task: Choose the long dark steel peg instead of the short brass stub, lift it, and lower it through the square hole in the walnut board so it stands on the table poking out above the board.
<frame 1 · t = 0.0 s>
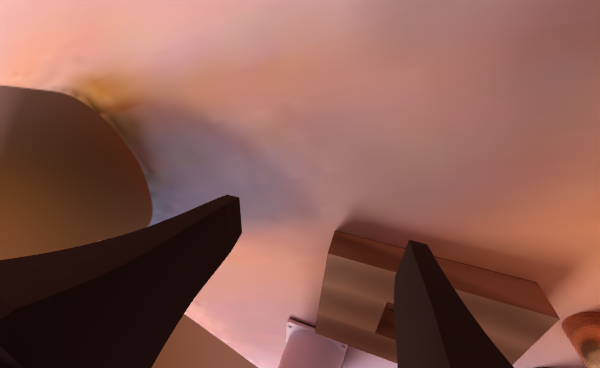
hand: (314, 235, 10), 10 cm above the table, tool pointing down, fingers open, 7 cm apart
walnut board: (406, 298, 24), on the table
short brass peg: (590, 326, 19), on the table
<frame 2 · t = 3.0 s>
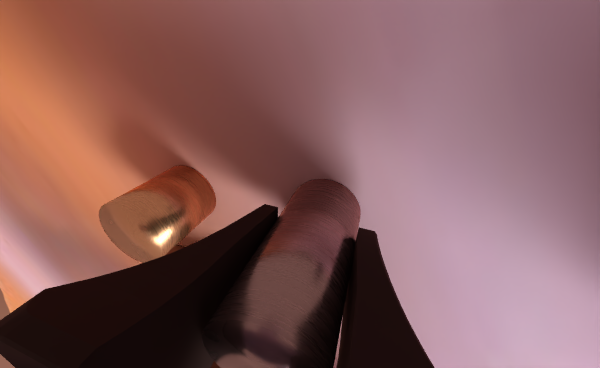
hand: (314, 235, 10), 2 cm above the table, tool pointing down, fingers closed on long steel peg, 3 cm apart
short brass peg: (190, 191, 14), on the table
long steel peg: (324, 210, 12), on the table, touching gripper
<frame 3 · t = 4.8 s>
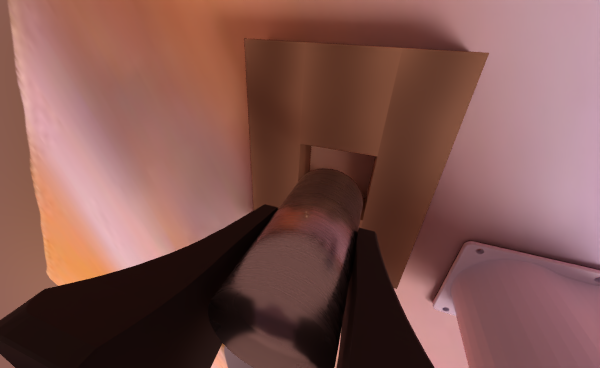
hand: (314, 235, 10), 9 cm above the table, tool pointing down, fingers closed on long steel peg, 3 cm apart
walnut board: (340, 165, 19), on the table
long steel peg: (327, 200, 12), point 7 cm above the table, touching gripper
when the fingers open (4 cm above the table, at t = 6.6 s): long steel peg drops 2 cm, resting in walnut board.
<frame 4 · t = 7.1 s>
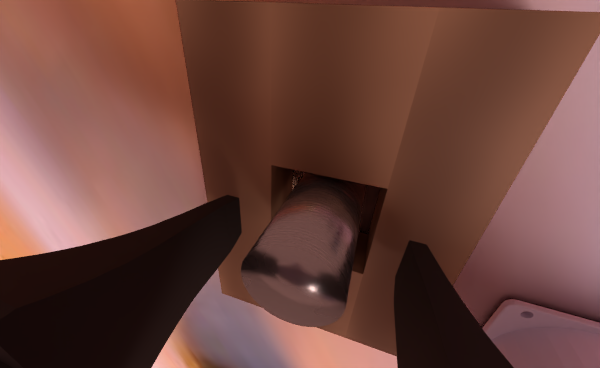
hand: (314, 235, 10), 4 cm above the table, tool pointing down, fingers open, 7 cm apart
walnut board: (332, 190, 13), on the table
long steel peg: (334, 185, 13), resting in walnut board
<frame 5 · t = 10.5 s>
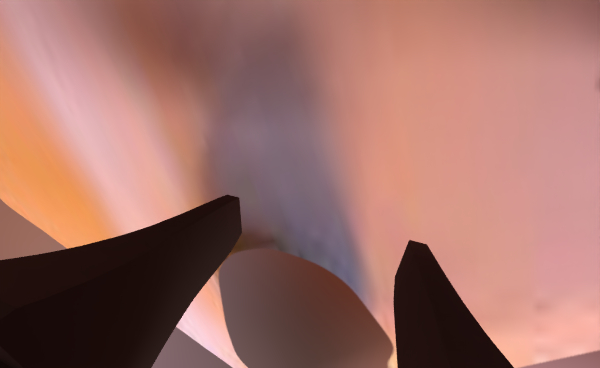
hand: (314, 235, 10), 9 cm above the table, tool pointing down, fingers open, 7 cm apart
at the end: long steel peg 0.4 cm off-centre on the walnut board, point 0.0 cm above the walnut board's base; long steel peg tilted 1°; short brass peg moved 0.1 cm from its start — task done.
